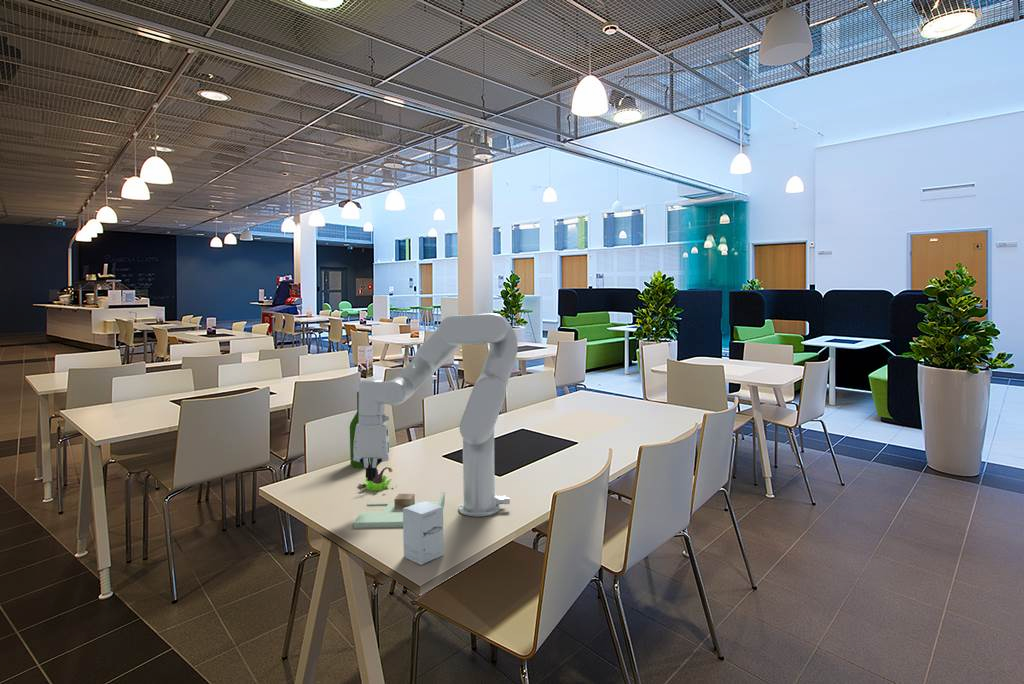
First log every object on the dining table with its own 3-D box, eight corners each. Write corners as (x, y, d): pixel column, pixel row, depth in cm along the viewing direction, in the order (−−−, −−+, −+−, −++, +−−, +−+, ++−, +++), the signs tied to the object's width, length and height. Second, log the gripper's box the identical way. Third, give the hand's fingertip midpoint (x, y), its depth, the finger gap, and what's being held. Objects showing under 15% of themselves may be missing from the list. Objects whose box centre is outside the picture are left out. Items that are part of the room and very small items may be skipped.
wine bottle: (377, 472, 208) (375, 390, 207) (371, 478, 199) (369, 393, 198) (354, 472, 208) (352, 390, 207) (348, 479, 199) (345, 393, 198)
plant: (333, 499, 178) (332, 466, 177) (379, 484, 194) (378, 454, 193) (373, 511, 166) (372, 476, 166) (418, 494, 182) (417, 462, 182)
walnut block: (414, 503, 164) (414, 493, 164) (411, 508, 159) (410, 499, 159) (398, 503, 165) (398, 493, 165) (394, 508, 160) (394, 499, 160)
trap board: (444, 509, 166) (444, 492, 166) (439, 529, 150) (439, 510, 150) (367, 511, 165) (367, 493, 165) (354, 531, 149) (353, 512, 149)
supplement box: (421, 566, 127) (420, 514, 127) (402, 557, 132) (401, 507, 132) (444, 555, 133) (443, 506, 132) (426, 547, 138) (425, 499, 137)
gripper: (398, 418, 164) (398, 476, 165) (350, 417, 164) (349, 476, 164) (393, 422, 156) (393, 483, 157) (343, 422, 156) (342, 483, 157)
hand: (371, 479), depth 161 cm, fingers closed
